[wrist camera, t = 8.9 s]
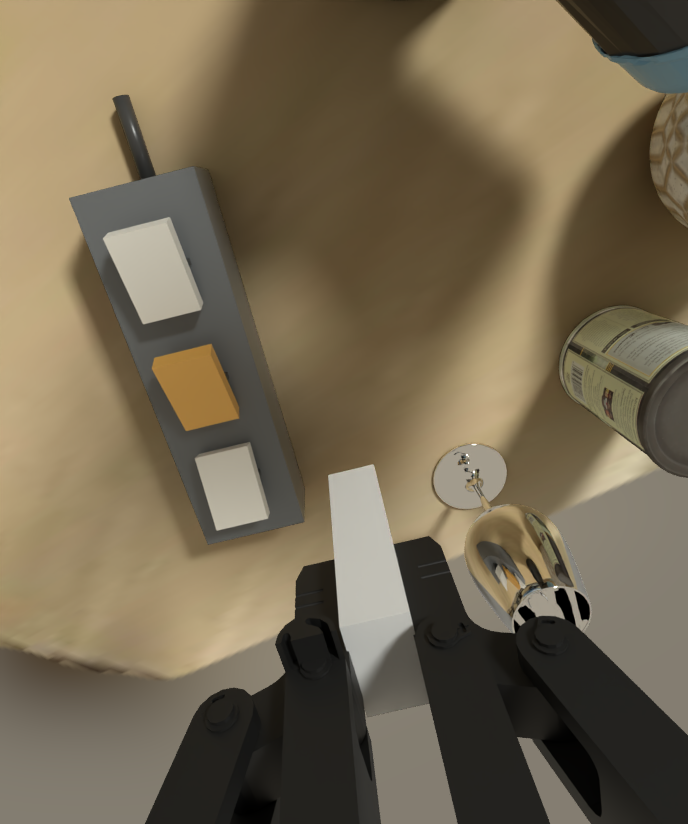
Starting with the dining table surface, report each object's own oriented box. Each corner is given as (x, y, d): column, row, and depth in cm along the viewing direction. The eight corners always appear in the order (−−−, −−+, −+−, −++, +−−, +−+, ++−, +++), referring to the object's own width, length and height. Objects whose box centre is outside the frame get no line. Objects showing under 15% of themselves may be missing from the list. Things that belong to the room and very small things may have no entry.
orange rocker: (154, 357, 40) (151, 368, 39) (211, 343, 40) (210, 354, 39) (187, 419, 44) (186, 431, 43) (239, 407, 44) (239, 418, 43)
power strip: (66, 115, 41) (21, 100, 34) (182, 84, 41) (159, 64, 34) (216, 509, 54) (204, 551, 48) (304, 488, 54) (304, 527, 48)
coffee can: (683, 364, 52) (809, 421, 39) (590, 428, 54) (681, 503, 41) (634, 280, 48) (755, 311, 35) (537, 351, 50) (618, 406, 37)
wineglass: (464, 427, 53) (549, 553, 34) (523, 465, 55) (633, 604, 36) (416, 486, 55) (471, 634, 36) (474, 521, 57) (554, 678, 38)
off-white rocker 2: (198, 453, 45) (194, 458, 44) (249, 441, 45) (247, 445, 44) (220, 524, 46) (216, 530, 45) (269, 512, 46) (267, 518, 45)
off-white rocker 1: (107, 232, 37) (102, 238, 36) (169, 216, 37) (166, 222, 36) (146, 316, 41) (143, 324, 39) (203, 302, 40) (201, 309, 39)
